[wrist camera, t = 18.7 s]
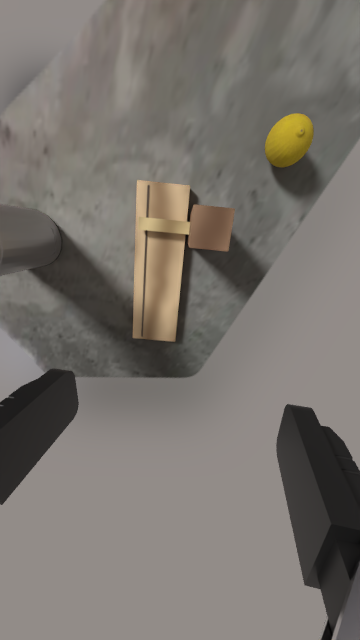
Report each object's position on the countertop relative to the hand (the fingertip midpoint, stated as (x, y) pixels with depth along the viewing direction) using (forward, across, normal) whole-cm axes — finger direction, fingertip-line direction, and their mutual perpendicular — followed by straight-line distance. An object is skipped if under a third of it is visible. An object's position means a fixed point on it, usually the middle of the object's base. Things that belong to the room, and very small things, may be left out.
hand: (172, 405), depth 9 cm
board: (+34, -10, 0) cm, 35 cm away
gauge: (+35, -7, +6) cm, 36 cm away
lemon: (+37, +7, +18) cm, 42 cm away
